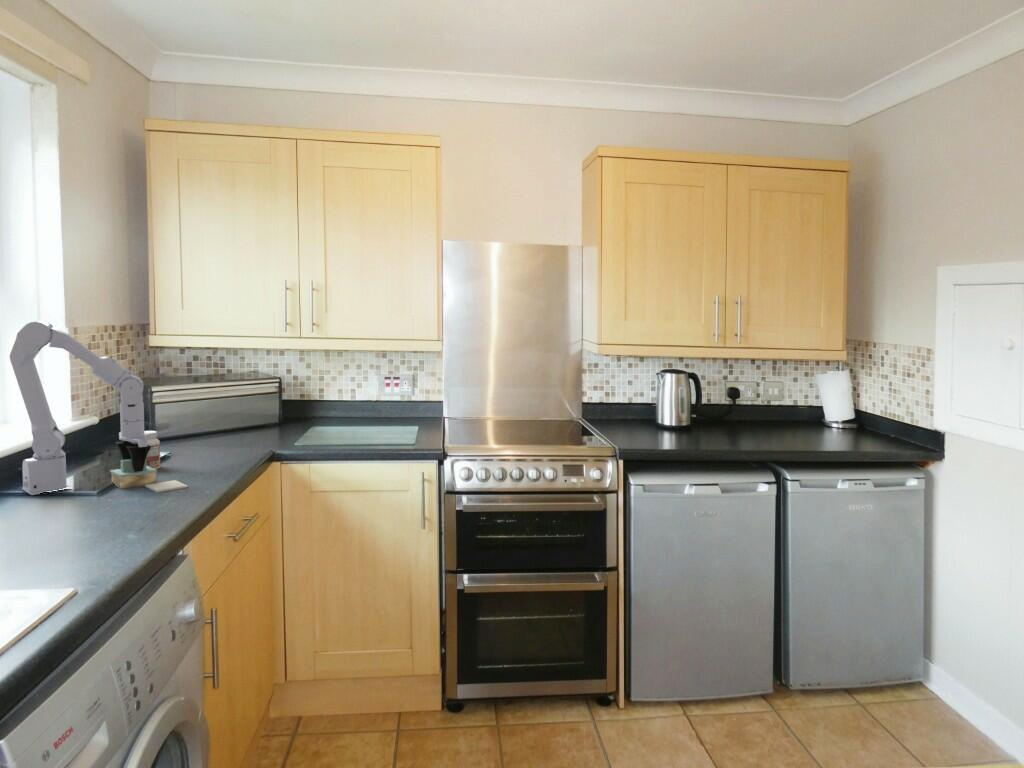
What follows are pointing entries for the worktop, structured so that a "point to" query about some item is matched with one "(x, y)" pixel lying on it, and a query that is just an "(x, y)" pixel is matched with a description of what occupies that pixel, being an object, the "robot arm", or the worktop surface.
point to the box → (133, 480)
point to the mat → (166, 486)
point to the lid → (131, 469)
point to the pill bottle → (153, 450)
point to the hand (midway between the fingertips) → (133, 469)
